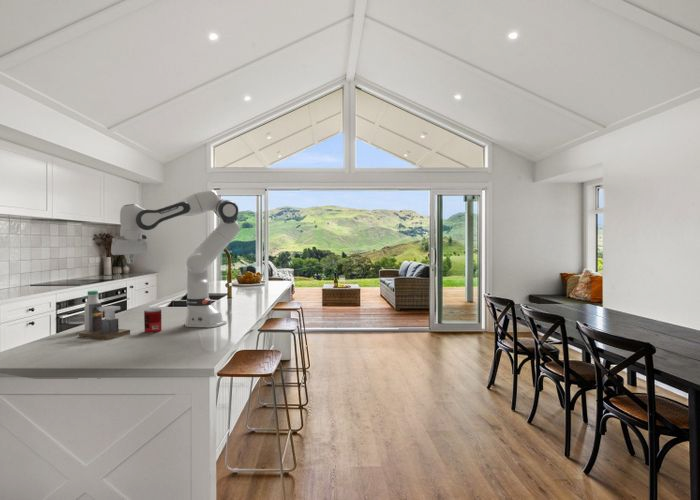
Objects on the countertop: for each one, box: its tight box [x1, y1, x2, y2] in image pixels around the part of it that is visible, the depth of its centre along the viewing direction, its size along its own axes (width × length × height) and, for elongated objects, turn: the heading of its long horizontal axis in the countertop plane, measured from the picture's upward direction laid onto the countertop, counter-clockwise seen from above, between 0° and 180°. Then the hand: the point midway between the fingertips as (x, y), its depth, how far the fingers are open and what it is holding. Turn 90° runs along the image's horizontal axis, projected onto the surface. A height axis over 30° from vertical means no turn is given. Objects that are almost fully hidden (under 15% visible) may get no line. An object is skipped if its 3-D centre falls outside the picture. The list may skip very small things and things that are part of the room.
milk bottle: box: [83, 290, 103, 331], centre depth 218 cm, size 8×8×20 cm
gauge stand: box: [78, 302, 131, 341], centre depth 206 cm, size 18×13×15 cm
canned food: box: [143, 307, 162, 334], centre depth 215 cm, size 8×8×11 cm
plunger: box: [96, 305, 121, 320], centre depth 206 cm, size 11×6×8 cm, turn 70°
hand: (130, 263), depth 218 cm, fingers closed
